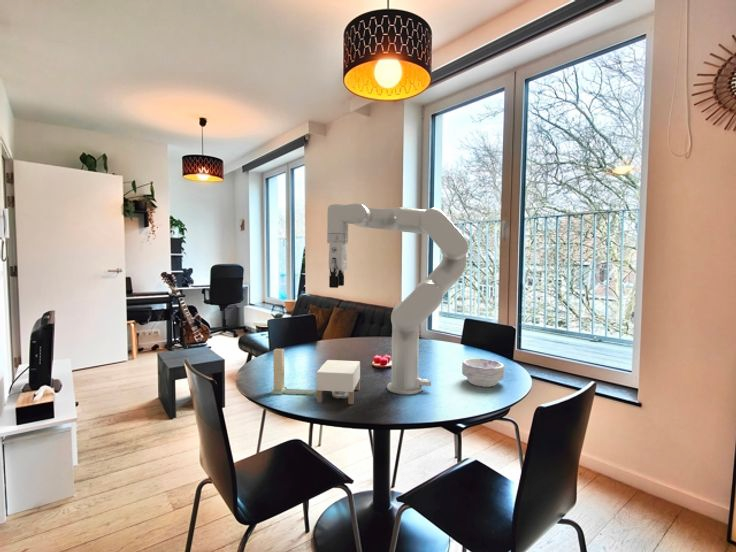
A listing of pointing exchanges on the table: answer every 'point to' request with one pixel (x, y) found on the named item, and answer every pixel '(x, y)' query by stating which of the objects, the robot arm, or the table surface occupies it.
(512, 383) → the table surface
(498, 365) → the paper bowls
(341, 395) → the silver dome
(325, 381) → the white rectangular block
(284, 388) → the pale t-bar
